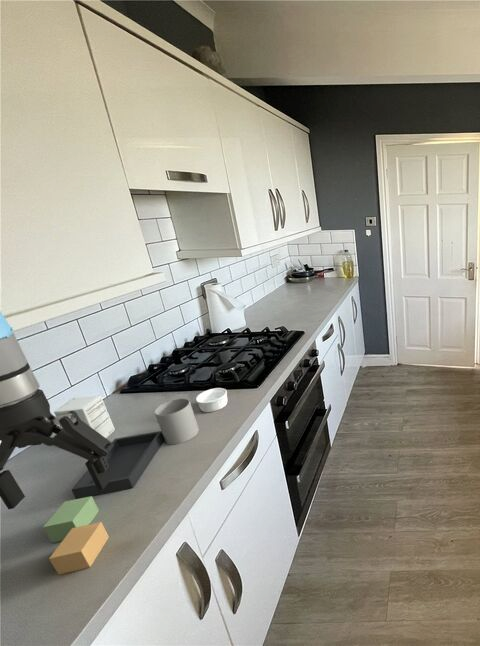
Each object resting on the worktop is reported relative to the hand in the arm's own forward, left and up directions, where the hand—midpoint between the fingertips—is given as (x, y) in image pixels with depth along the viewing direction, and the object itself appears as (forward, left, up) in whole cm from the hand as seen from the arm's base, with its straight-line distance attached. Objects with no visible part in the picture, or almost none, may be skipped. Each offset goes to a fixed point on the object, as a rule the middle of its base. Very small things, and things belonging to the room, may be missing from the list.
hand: (62, 493), depth 66 cm
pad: (-6, +7, -14) cm, 17 cm away
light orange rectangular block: (0, -2, -14) cm, 15 cm away
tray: (-5, +25, -14) cm, 29 cm away
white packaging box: (-20, +41, -15) cm, 48 cm away
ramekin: (+10, +49, -15) cm, 52 cm away
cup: (+5, +35, -15) cm, 38 cm away
